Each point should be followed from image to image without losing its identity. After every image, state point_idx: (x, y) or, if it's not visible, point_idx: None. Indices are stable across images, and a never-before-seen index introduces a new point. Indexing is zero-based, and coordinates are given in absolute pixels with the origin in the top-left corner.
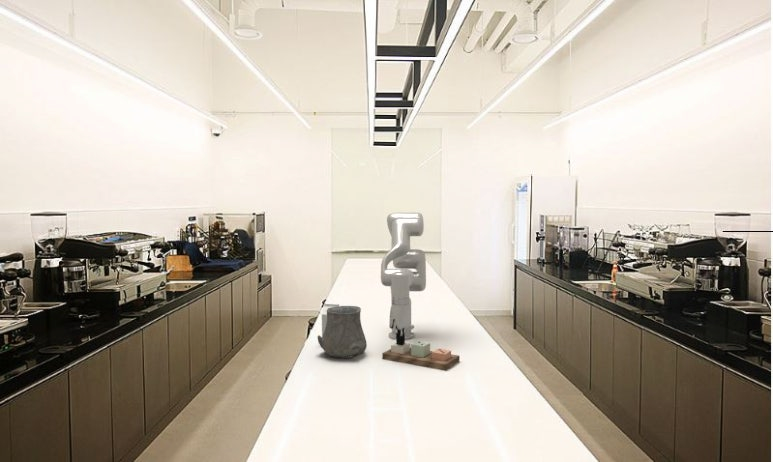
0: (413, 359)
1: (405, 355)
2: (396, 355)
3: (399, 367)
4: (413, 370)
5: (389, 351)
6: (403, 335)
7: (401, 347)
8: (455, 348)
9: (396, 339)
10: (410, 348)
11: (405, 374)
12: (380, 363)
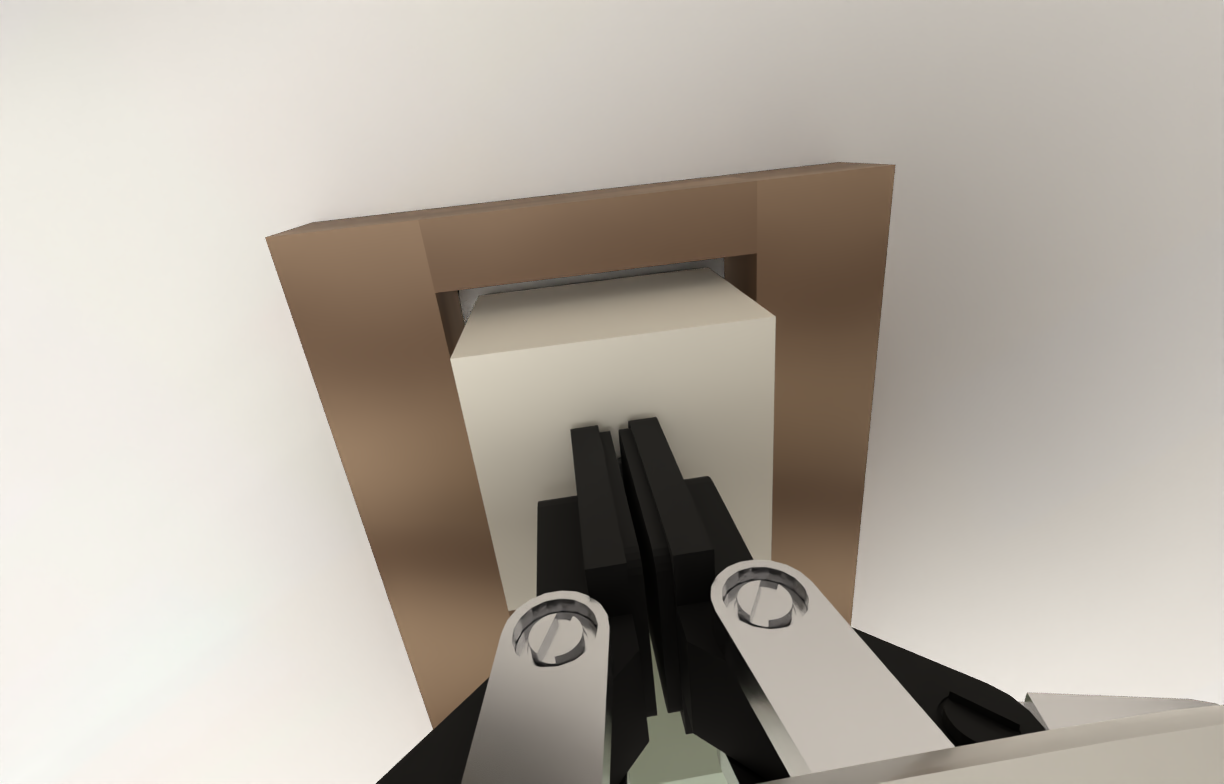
0: (436, 720)
1: (469, 600)
2: (368, 512)
3: (246, 615)
4: (302, 750)
5: (454, 285)
6: (685, 712)
7: (501, 577)
8: (1189, 638)
9: (576, 488)
10: (820, 455)
11: (137, 769)
12: (130, 341)
